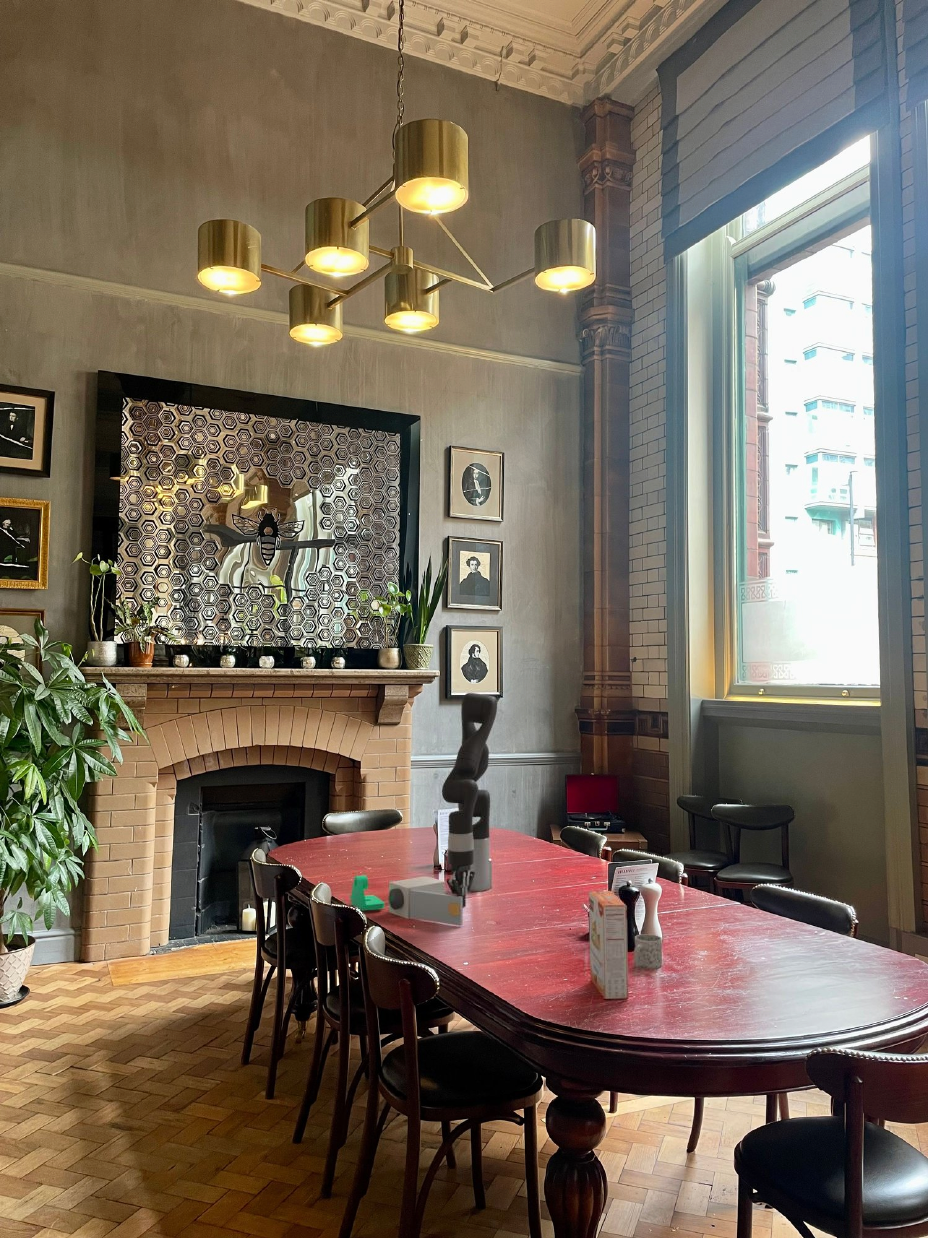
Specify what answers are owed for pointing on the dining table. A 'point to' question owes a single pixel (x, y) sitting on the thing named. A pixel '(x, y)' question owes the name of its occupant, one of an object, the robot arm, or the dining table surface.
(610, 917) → the cracker box
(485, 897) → the dining table surface
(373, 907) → the camera mount
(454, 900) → the side door
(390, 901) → the camera housing
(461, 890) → the robot arm
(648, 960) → the mug
